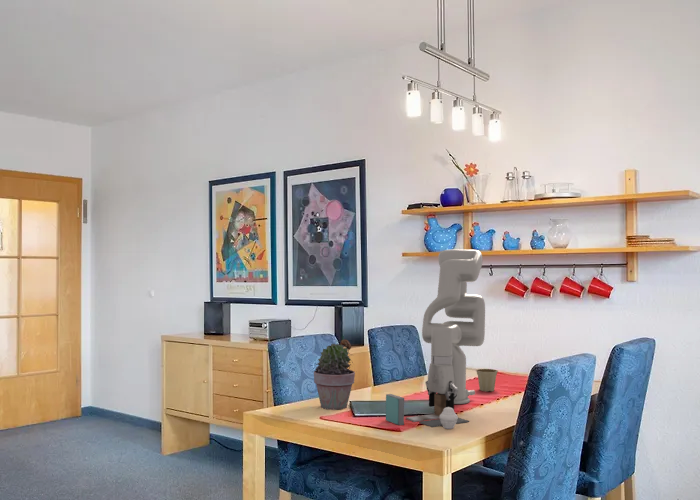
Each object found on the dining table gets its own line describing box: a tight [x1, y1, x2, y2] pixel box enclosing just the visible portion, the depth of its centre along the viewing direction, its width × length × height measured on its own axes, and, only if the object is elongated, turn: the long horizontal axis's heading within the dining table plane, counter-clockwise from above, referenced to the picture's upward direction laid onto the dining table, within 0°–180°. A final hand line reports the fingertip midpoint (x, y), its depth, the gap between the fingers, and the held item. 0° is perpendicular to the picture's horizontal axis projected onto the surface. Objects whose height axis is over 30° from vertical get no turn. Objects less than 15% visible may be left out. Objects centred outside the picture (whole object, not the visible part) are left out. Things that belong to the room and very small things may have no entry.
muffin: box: [439, 407, 459, 430], centre depth 228 cm, size 6×6×7 cm
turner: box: [405, 393, 447, 423], centre depth 242 cm, size 16×4×8 cm, turn 121°
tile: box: [385, 393, 405, 426], centre depth 235 cm, size 2×8×9 cm, turn 30°
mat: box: [418, 417, 470, 428], centre depth 236 cm, size 16×7×1 cm, turn 121°
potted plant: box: [313, 339, 356, 411], centre depth 258 cm, size 18×20×25 cm
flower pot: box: [475, 368, 499, 392], centre depth 297 cm, size 9×9×9 cm
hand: (441, 408), depth 245 cm, fingers open, 9 cm apart
